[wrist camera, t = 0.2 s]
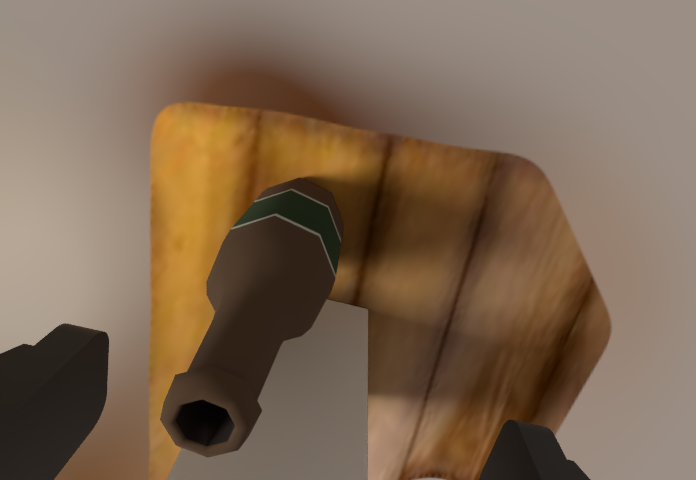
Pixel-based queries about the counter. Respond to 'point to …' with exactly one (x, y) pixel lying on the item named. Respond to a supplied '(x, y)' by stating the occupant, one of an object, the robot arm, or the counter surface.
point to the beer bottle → (255, 313)
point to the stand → (304, 410)
